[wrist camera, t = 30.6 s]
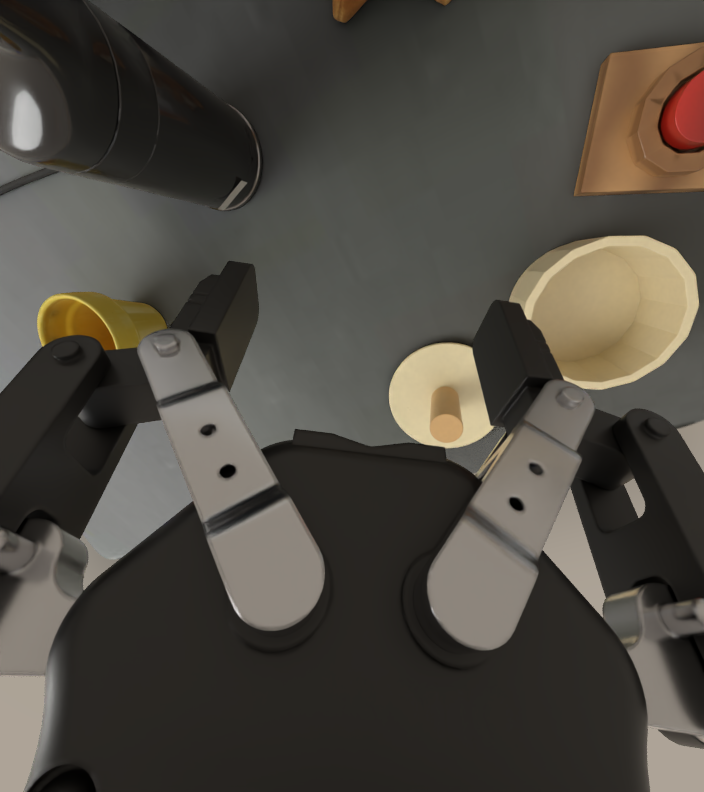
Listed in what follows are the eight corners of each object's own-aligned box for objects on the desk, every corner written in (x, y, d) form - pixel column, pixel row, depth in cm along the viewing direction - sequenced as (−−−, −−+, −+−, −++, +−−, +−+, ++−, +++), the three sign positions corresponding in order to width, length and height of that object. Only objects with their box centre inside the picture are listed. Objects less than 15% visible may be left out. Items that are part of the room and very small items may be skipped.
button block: (573, 196, 30) (589, 188, 27) (600, 64, 27) (622, 38, 23) (738, 190, 27) (778, 180, 24) (792, 43, 24) (845, 10, 21)
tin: (498, 362, 36) (511, 383, 30) (518, 241, 32) (537, 237, 26) (624, 369, 34) (666, 394, 28) (664, 240, 30) (725, 234, 23)
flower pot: (168, 282, 42) (96, 288, 33) (191, 363, 46) (131, 387, 37) (102, 291, 45) (20, 298, 36) (129, 366, 48) (60, 390, 39)
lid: (388, 437, 43) (376, 477, 35) (392, 337, 38) (380, 358, 30) (494, 449, 40) (508, 495, 32) (513, 344, 36) (534, 367, 28)
